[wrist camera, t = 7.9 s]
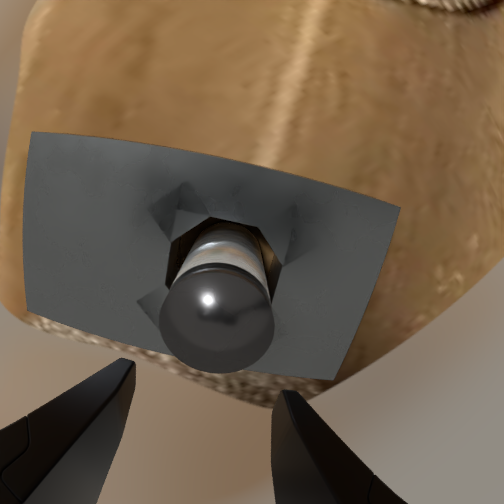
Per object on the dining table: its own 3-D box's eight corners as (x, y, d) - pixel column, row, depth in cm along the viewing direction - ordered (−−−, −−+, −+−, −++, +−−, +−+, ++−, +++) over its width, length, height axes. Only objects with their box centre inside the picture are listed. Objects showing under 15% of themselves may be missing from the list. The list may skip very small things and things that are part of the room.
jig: (377, 198, 17) (400, 207, 14) (322, 353, 20) (333, 380, 17) (59, 133, 15) (31, 131, 12) (49, 291, 18) (27, 310, 15)
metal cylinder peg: (268, 230, 17) (288, 289, 10) (252, 293, 19) (258, 380, 11) (199, 215, 17) (165, 263, 9) (187, 279, 18) (154, 360, 11)
